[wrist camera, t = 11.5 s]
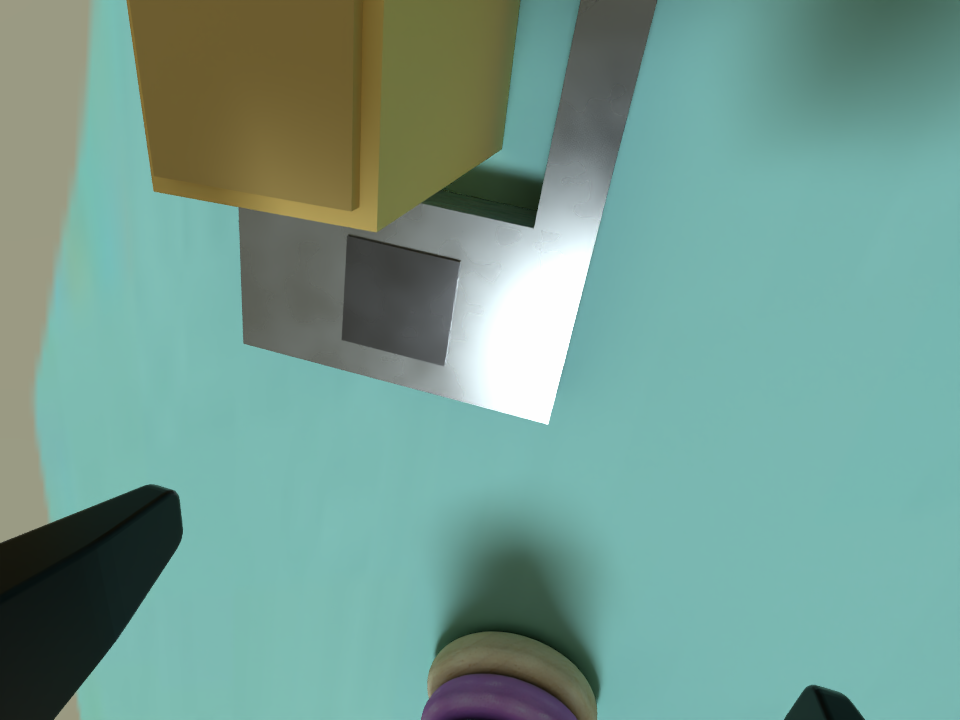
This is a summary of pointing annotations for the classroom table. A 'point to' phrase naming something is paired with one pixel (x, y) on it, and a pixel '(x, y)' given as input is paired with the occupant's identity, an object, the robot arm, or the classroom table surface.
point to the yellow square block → (321, 100)
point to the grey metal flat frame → (459, 257)
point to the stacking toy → (506, 681)
